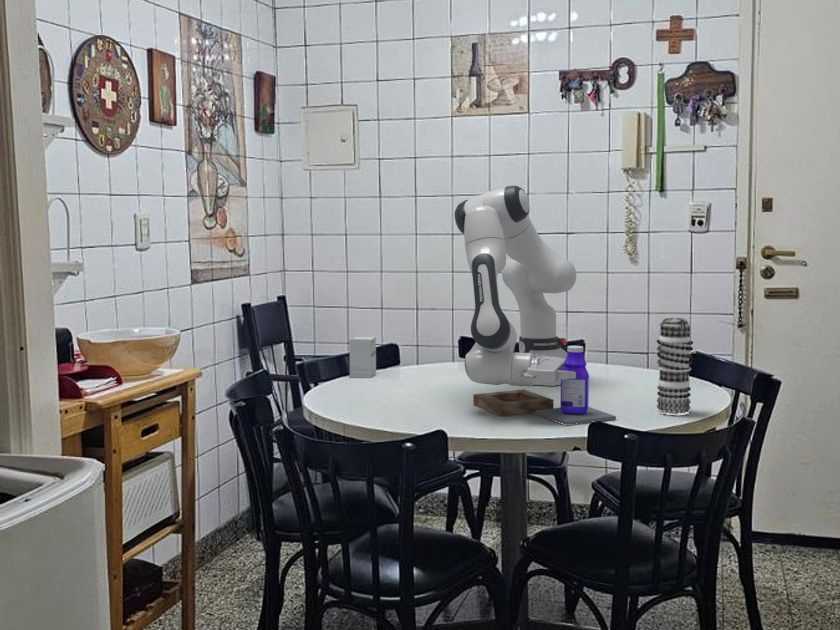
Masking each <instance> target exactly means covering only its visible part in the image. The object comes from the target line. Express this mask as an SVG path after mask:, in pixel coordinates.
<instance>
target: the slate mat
mask: <svg viewBox="0 0 840 630" xmlns="http://www.w3.org/2000/svg"><path fill="white" fill-rule="evenodd" d="M534 414H535V415H536V414H538V415H537V416H539V415H540V416H539V417H541V416H543V417H542V418H544V417H545V418H544V419H547V418H548V419H547V420H549V419H551V420H550V421H552V420H554V421H557V422H560V423H563V424H565V425H566V424H576V423H585V424H591V423H590V422H592V421H603V422H610V421H616V420H617V416H616V415H614V414H610V413H608V412H605V411H603V410H598V409H596V408H594V407H593V408H592V407H591V406H588V409H587V412H586V413H585V414H568V413H563V412H562V410H561V407H555V408H554V407H553V409H543V410H535V413H534ZM554 421H553V422H554ZM557 422H556V423H557ZM560 423H559V424H560ZM565 425H564V426H565Z"/></svg>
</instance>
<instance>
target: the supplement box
mask: <svg viewBox="0 0 840 630" xmlns="http://www.w3.org/2000/svg"><path fill="white" fill-rule="evenodd" d="M348 340H349V341H348V343H349V347H348V348H349V378H356V379H357V378H358V379H359V378H360V379H361V378H362V379H363V378H364V379H371V378H372V377H373V376H375V375H377V339H376V336H354V337H352V338H350V339H348Z"/></svg>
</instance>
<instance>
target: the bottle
mask: <svg viewBox="0 0 840 630" xmlns="http://www.w3.org/2000/svg"><path fill="white" fill-rule="evenodd" d="M566 350H567V351H566V352H567V357H566V360H565V362H564V365H565V367H564V369H563V371H576V372H577V374H576V378H575V379H562V380H561V385H560V405H559V406H560V407H559V408H561V410H562V412H563V413H568V414H585V413H586V412H587V409H588V407H589V402H590V401H589V400H590V399H589V396H590V394H589V393H590V375H589V372H588V369H587V367H586V366H587V361H586V359H585V357H584V356H585V355H584V346H583V345H582V346H581V345H568V346H567V349H566Z"/></svg>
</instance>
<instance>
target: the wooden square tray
mask: <svg viewBox="0 0 840 630" xmlns="http://www.w3.org/2000/svg"><path fill="white" fill-rule="evenodd" d="M472 399H473V400H472V401H473V406H475V407H478V408H480V409H483V410H484V411H487V412H490V413H491V414H494V415H497V416H498V417H499V416H500V417H506V416H507V415H509V416H516V414H518V415H523V414H522V413H527V414H533V413H532V412H535V410H543V409H553V408H554V402H555V401H554V399H553V398H549V397H547V396H543V395H541V394H539V393H535V392H533V391H530V390H527V389H516V390H506V391H505V390H504V391H495V392H494V391H493V392H485V393H483V392H482V393H475V394H473V397H472ZM507 417H508V416H507Z"/></svg>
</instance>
